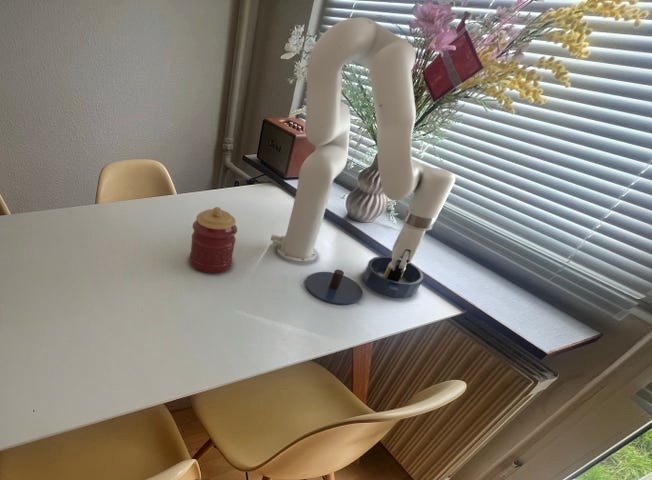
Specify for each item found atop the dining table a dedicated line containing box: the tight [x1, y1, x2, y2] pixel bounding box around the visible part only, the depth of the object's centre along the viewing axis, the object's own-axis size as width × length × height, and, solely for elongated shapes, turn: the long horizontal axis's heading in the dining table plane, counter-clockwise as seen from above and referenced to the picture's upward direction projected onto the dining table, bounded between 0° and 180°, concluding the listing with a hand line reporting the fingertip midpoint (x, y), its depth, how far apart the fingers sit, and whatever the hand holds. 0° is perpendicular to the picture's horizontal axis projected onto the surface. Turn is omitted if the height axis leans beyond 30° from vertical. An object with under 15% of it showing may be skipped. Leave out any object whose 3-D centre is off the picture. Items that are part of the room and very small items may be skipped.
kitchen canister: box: [189, 206, 238, 274], centre depth 126 cm, size 13×13×18 cm
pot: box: [362, 255, 424, 300], centre depth 127 cm, size 15×21×5 cm
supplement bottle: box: [382, 258, 407, 282], centre depth 125 cm, size 5×5×8 cm
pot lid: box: [304, 269, 364, 306], centre depth 123 cm, size 16×16×6 cm
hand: (392, 276), depth 127 cm, fingers closed on supplement bottle, 4 cm apart
